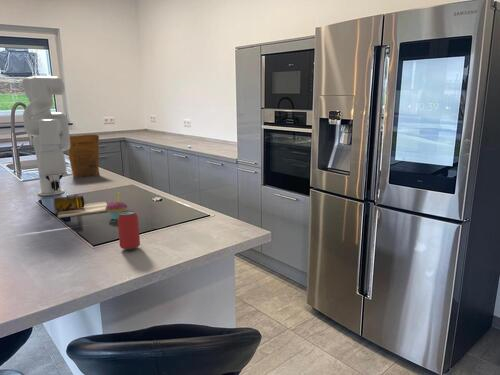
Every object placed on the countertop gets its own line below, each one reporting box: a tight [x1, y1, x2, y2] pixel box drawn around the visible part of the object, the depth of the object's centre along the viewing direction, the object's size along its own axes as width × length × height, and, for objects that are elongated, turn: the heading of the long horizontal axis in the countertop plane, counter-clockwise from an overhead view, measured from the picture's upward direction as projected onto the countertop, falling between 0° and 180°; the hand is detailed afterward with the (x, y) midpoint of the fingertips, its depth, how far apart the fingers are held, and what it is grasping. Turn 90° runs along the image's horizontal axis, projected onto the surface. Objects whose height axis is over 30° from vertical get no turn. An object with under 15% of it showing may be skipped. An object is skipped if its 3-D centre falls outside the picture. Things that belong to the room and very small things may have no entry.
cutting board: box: [57, 201, 108, 219], centre depth 173 cm, size 16×21×1 cm
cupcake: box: [106, 191, 128, 221], centre depth 160 cm, size 9×8×12 cm
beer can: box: [117, 209, 141, 250], centre depth 128 cm, size 7×7×12 cm
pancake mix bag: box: [67, 134, 101, 178], centre depth 243 cm, size 7×19×28 cm, turn 113°
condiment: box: [52, 194, 85, 213], centre depth 171 cm, size 7×8×12 cm
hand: (55, 190), depth 167 cm, fingers closed
